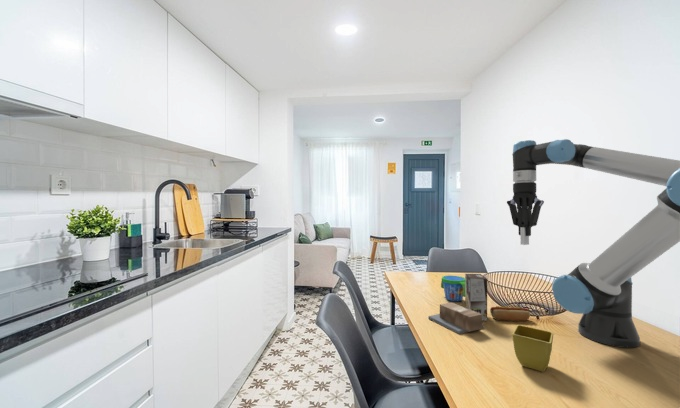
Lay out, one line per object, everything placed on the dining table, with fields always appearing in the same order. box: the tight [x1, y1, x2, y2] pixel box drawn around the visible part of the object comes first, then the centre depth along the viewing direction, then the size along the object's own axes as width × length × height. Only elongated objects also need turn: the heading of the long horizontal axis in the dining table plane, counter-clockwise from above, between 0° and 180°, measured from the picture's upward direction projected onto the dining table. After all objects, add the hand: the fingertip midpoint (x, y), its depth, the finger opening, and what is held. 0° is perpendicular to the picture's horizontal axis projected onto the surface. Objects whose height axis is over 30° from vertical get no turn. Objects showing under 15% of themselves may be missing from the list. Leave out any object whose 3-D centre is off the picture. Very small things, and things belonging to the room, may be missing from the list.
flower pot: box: [512, 324, 554, 372], centre depth 81 cm, size 9×9×9 cm
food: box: [489, 306, 531, 322], centre depth 113 cm, size 14×6×5 cm, turn 83°
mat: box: [428, 313, 484, 335], centre depth 109 cm, size 15×12×1 cm
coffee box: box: [464, 273, 488, 322], centre depth 116 cm, size 9×6×16 cm
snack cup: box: [440, 275, 465, 302], centre depth 137 cm, size 16×10×10 cm
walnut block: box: [439, 301, 483, 332], centre depth 107 cm, size 5×6×14 cm
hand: (524, 244), depth 111 cm, fingers closed
